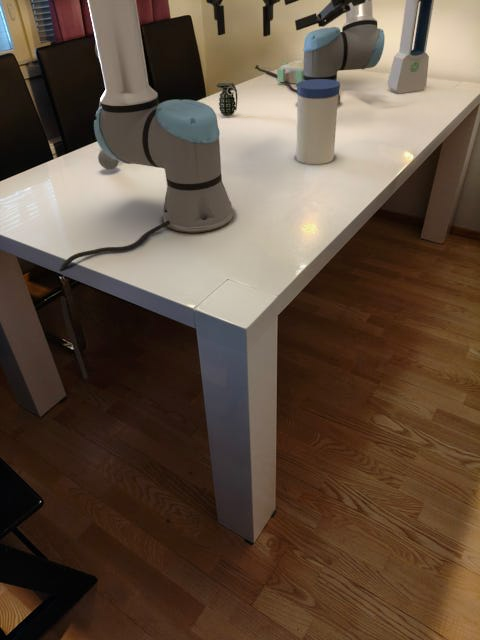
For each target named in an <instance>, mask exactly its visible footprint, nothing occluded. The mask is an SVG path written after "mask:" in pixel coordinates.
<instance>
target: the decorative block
mask: <svg viewBox="0 0 480 640" xmlns="http://www.w3.org/2000/svg"><path fill="white" fill-rule="evenodd" d="M303 69H304V58H303V59H297V60H295V61H292V62H287V61H286V62H282V65H281V66H279V68H277V71H276V72H277V73H276V74H277V77H276V78H277V80H276V81H277V82H279V83H284V82H285V81H287V82H288V83H289V84H296V85H297V83H299V82H301V81H303Z"/></svg>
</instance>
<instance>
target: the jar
mask: <svg viewBox="0 0 480 640" xmlns="http://www.w3.org/2000/svg"><path fill="white" fill-rule="evenodd" d="M297 102H298V104H297V107H296V108H297V110H296V112H297V113H296V114H297V115H296V117H297V118H296V119H297V120H296V150H295V151H296V152H295V153H296V155H295V157H296V158H295V159H296V160H297V162H300V163H303V164H307V165H323V164H327V163H331V162H332V161H333V160H334V158H335V145H336V131H337V118H338V117H337V115H338V106H337V104H338V94H337V95H335V96H331V97H325V98H308V97H302V96H299V95H298V94H297Z"/></svg>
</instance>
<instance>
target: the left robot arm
mask: <svg viewBox="0 0 480 640" xmlns="http://www.w3.org/2000/svg"><path fill="white" fill-rule="evenodd" d="M262 1H263V3H264V5H263V6H262V36H263V37H268V36H271V21H274V6H275V4H277V3H280V2H281V0H262ZM222 2H223V0H206V3H207V4H210V5H212V7H213V18H214V20H215V21H216V27H217V36H223V35H225V34H226V24H225V23H226V22H225V5H222V4H223V3H222ZM87 3H88V4H87V5H88V8H89V13H90V20H91V23H92V29H93V34H94V39H95V45H96V44H97V49H98V54H99V58H98V59H99V63H100V68H101V73H102V78H103V84H104V88H105V90H104V92H103V93H102V95H101V97H100V98H99V102H101V107H100V108H99V107H98V109H97V110H96V113H95V120H93V130H94V135H95V139H96V143H97V144H98V146H99V147H100V149H101V150H103V151H104V153H105V154H106V155H108V156H109V157H111V158H112V159H115V160H118V161H119V162H122V163H124V164H128V165H131V164H132V165H139V166H146V167H154V168H160V169H164V174H165V180H166V190H165V191H166V192H165V196H164V203H163V207H162V218H163V222H162V223H160V224H159V225H157V226H154V227H153V228H151V229H150V230H148V231H146V232H145V233H144V234H142V235H141V236H140V237H139V238H138V240H136V241H135V242H133V243H131V244H127V245H123V246H106V247H99V248H95V249H91V250H86V251H80V252H77V253H75V254H73V255H71V256H69V257H68V258H67V259H66V260H65V261H64V262H63V263H62V264H61V265H60V268H59V269H58V270H59V272H63V271H65V270H66V269H67V267H68V266H69V265H70V264H71V263H72V262H73V261H75V260H77V259H79V258H82V257H83V258H84V257H86V256H93V255H96V254H101V253H107V252H124V251H129V250H132V249H135V248H137V247H138V246H140V245H141V244H142V243H143V242H144V241H145V240H146V239H147V238H148V237H149V236H151V235H153V234H154V233H156V232H158V231H160V230H161V229H163V228H166V227H168V228H169V229H171V230H173V231H177V232H180V233H190V234H191V233H192V234H193V233H194V234H195V233H196V234H197V233H205V232H206V233H207V232H210V231H215V230H216V229H220V228H222V227H224V226H226V225H227V224H228V223H230V221H231V220H232V218H233V216H234V212H233V211H234V210H233V205H232V201H231V200H230V197H229V195H228V192H227V190H226V187H225V184H224V182H223V175H222V174H223V173H222V161H221V159H222V158H221V145H220V133H221V132H220V129H219V123H218V116H217V113H216V112H215V110H214V109H213V108H212V106H210V105H208V104H206V103H204V102H202V101H198V100H193V99H169V100H165V101H162V102H160V101H159V94H158V92H157V91H156V90H155V89H153V88H152V87H151V85H150V84H149V78H148V71H147V64H146V57H145V52H144V44H143V39H142V32H141V24H140V19H139V12H138V5H137V0H87ZM60 302H61V308H62V309H61V310H62V314H63V318H64V323H65V327H66V329H67V332H68V336H69V340H70V342H71V345H72V347H73V350H74V353H75V356H76V358H77V361H78V364H79V367H80V370H81V373H82V374H81V375H82V376H83V380H88V379H89V376H88V373H87V370H86V367H85V363H84V360H83V357H82V355H81V352H80V350H79V346H78V343H77V341H76V338H75V335H74V331H73V329H72V325H71V321H70V317H69V312H68V307H67V300H66V296H63V295H60Z"/></svg>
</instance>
